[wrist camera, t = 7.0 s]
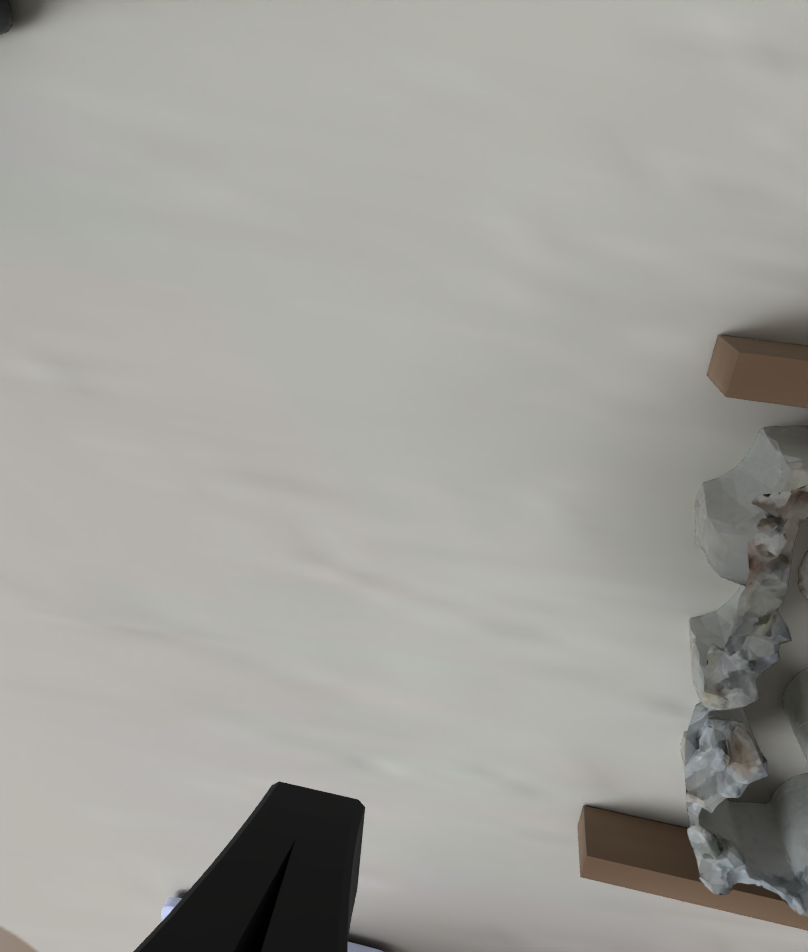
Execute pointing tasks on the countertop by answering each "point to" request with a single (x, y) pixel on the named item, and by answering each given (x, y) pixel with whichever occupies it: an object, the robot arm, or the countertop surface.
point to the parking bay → (666, 846)
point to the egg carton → (748, 673)
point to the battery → (5, 16)
